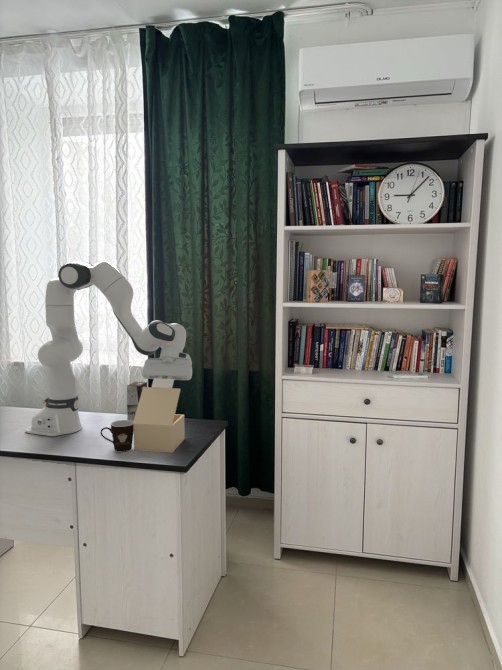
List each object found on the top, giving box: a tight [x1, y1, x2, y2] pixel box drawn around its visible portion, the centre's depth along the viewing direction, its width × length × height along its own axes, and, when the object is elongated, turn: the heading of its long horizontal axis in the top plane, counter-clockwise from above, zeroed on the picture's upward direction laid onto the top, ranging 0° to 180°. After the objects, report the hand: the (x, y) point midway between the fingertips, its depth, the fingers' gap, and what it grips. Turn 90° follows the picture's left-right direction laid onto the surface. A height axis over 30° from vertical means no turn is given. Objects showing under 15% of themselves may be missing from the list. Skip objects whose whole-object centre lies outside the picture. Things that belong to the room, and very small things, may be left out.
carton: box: [133, 413, 186, 453], centre depth 196 cm, size 15×16×10 cm
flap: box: [132, 378, 181, 426], centre depth 194 cm, size 15×20×1 cm
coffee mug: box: [100, 419, 134, 453], centre depth 192 cm, size 12×9×10 cm
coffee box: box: [126, 381, 148, 421], centre depth 232 cm, size 9×6×16 cm
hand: (163, 387), depth 199 cm, fingers closed, pressing on flap
